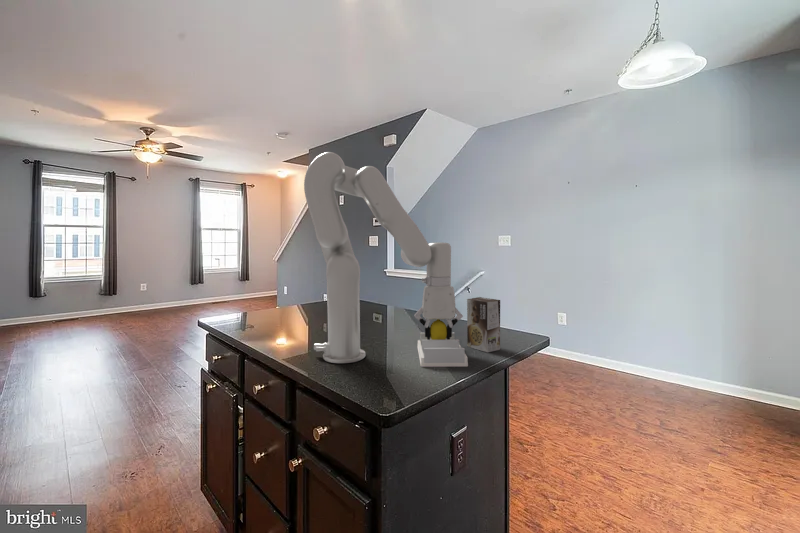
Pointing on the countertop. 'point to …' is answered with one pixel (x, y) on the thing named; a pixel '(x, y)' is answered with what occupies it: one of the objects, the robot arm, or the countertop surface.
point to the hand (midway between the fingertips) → (438, 338)
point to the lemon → (438, 330)
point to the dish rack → (441, 352)
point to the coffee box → (483, 324)
